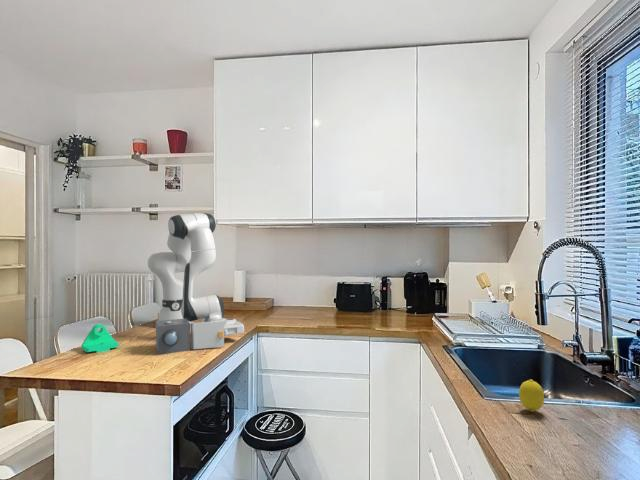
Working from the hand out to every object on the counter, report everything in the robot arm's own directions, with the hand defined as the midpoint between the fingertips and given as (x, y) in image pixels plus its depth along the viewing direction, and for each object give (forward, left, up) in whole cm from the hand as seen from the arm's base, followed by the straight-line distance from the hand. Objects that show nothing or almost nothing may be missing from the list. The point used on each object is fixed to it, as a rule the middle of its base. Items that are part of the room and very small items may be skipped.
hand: (224, 334), depth 165 cm
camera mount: (-21, -46, -6) cm, 51 cm away
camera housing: (-6, -19, -5) cm, 21 cm away
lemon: (+100, +54, -6) cm, 114 cm away
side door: (0, -7, -5) cm, 8 cm away
